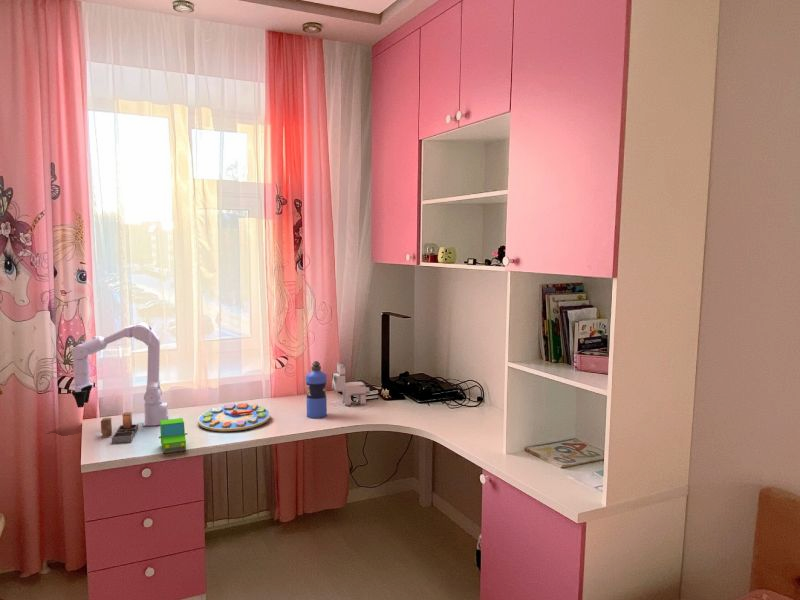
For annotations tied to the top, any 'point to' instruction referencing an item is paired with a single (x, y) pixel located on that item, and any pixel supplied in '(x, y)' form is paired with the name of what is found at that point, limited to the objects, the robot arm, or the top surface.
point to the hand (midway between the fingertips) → (83, 404)
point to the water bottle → (316, 392)
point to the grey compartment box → (125, 430)
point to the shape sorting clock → (234, 417)
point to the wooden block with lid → (106, 427)
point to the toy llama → (348, 387)
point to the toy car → (172, 435)
